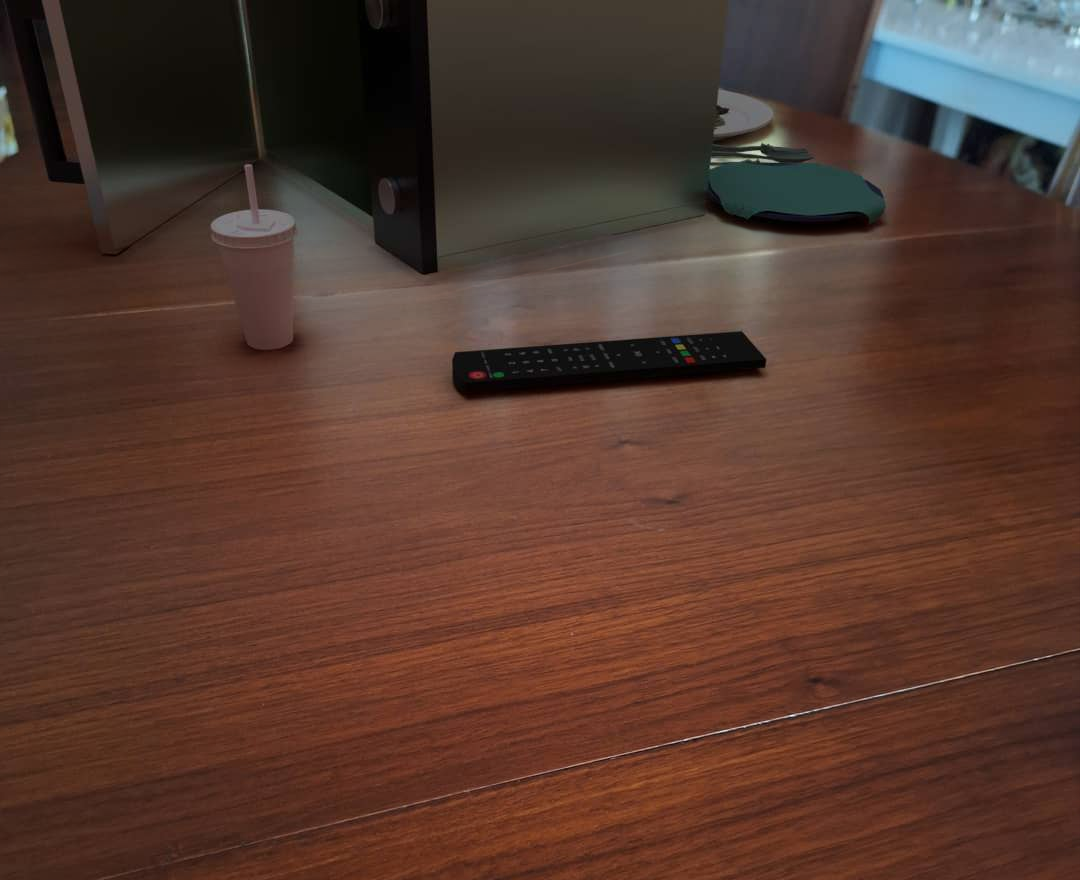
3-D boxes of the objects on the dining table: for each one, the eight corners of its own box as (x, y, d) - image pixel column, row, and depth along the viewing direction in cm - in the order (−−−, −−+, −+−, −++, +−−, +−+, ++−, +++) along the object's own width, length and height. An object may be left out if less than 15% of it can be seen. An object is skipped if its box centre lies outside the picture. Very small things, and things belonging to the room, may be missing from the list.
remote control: (764, 375, 81) (766, 359, 80) (458, 400, 76) (457, 383, 76) (739, 346, 85) (741, 331, 84) (448, 368, 81) (447, 352, 80)
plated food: (774, 156, 131) (778, 129, 129) (541, 143, 135) (541, 115, 133) (769, 102, 156) (772, 78, 154) (571, 92, 159) (572, 68, 157)
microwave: (415, 278, 96) (396, -72, 80) (243, 162, 125) (203, -111, 109) (705, 214, 112) (738, -87, 96) (492, 125, 142) (490, -117, 126)
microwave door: (48, 248, 100) (-40, -86, 84) (205, 155, 127) (161, -111, 111) (116, 255, 99) (40, -83, 83) (259, 159, 126) (223, -109, 110)
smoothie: (252, 364, 81) (223, 181, 73) (215, 336, 85) (184, 160, 77) (324, 343, 84) (305, 166, 76) (286, 317, 88) (264, 147, 80)
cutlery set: (713, 234, 107) (716, 212, 106) (676, 154, 131) (678, 135, 130) (904, 236, 108) (909, 214, 106) (831, 156, 132) (835, 137, 131)
